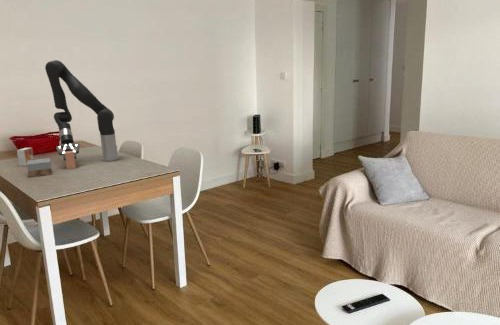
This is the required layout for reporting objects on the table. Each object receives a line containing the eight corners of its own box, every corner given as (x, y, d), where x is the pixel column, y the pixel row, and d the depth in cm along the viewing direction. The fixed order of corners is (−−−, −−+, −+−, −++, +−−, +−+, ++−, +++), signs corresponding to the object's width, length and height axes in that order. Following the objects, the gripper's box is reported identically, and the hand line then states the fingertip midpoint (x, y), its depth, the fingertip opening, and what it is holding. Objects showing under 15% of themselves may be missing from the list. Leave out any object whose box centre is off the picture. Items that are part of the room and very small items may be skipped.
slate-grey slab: (50, 164, 257) (49, 158, 256) (51, 168, 246) (49, 161, 245) (28, 167, 252) (27, 160, 251) (28, 171, 241) (26, 164, 241)
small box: (26, 166, 271) (23, 150, 269) (18, 165, 272) (16, 149, 270) (35, 163, 279) (32, 147, 277) (27, 163, 280) (25, 147, 278)
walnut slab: (51, 170, 258) (50, 164, 257) (52, 175, 248) (51, 168, 247) (29, 173, 253) (28, 167, 252) (29, 178, 242) (28, 171, 242)
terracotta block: (75, 166, 265) (73, 150, 263) (75, 168, 261) (73, 152, 258) (66, 167, 263) (64, 151, 261) (67, 169, 258) (64, 153, 256)
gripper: (53, 134, 261) (57, 157, 254) (78, 132, 268) (82, 154, 260) (54, 142, 267) (57, 164, 260) (78, 139, 273) (82, 161, 266)
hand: (70, 159), depth 260 cm, fingers closed on terracotta block, 5 cm apart
